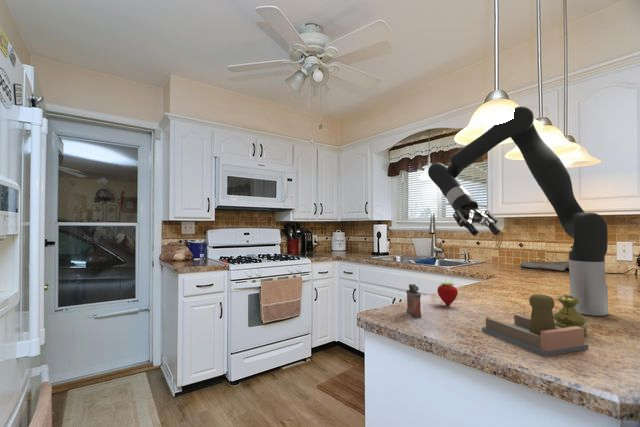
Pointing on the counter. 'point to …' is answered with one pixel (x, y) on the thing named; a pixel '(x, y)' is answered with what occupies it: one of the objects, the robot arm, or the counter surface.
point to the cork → (541, 313)
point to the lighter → (413, 301)
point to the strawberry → (447, 293)
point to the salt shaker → (569, 314)
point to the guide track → (537, 336)
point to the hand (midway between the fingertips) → (487, 233)
